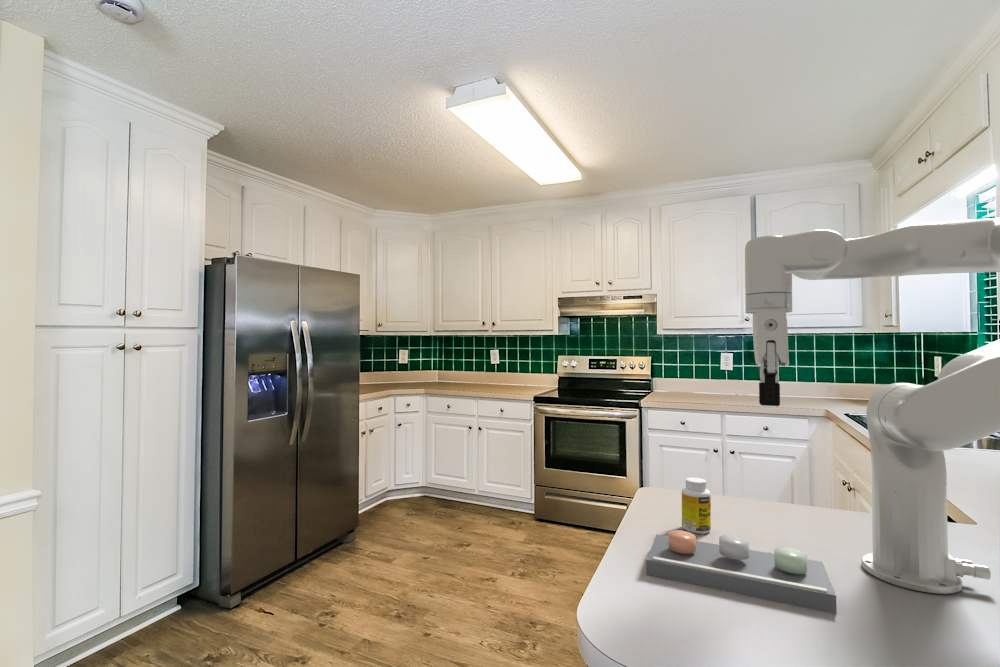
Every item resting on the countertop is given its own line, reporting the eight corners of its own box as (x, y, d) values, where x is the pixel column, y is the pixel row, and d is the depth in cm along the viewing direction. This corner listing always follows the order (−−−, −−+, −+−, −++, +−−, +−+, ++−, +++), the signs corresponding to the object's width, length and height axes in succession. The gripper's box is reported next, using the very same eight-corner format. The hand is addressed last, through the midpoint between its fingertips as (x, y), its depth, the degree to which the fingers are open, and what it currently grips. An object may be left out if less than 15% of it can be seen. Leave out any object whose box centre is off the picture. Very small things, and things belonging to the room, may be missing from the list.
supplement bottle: (700, 537, 95) (699, 485, 96) (676, 528, 100) (675, 478, 100) (716, 531, 98) (716, 480, 99) (692, 523, 103) (692, 474, 103)
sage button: (805, 564, 77) (804, 550, 77) (809, 576, 73) (808, 561, 73) (773, 559, 79) (773, 545, 79) (775, 570, 75) (775, 555, 75)
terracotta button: (696, 545, 84) (696, 533, 84) (694, 555, 80) (694, 542, 80) (670, 541, 86) (670, 528, 86) (666, 550, 82) (666, 537, 82)
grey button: (748, 551, 80) (748, 537, 80) (749, 561, 76) (749, 547, 76) (719, 546, 82) (719, 533, 82) (718, 556, 78) (718, 542, 78)
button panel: (822, 577, 79) (822, 560, 79) (836, 613, 68) (836, 593, 68) (656, 547, 90) (656, 532, 90) (646, 575, 79) (646, 558, 79)
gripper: (797, 300, 80) (799, 411, 79) (787, 307, 93) (788, 402, 93) (746, 301, 83) (747, 408, 83) (744, 308, 97) (744, 400, 96)
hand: (769, 405), depth 88 cm, fingers closed
